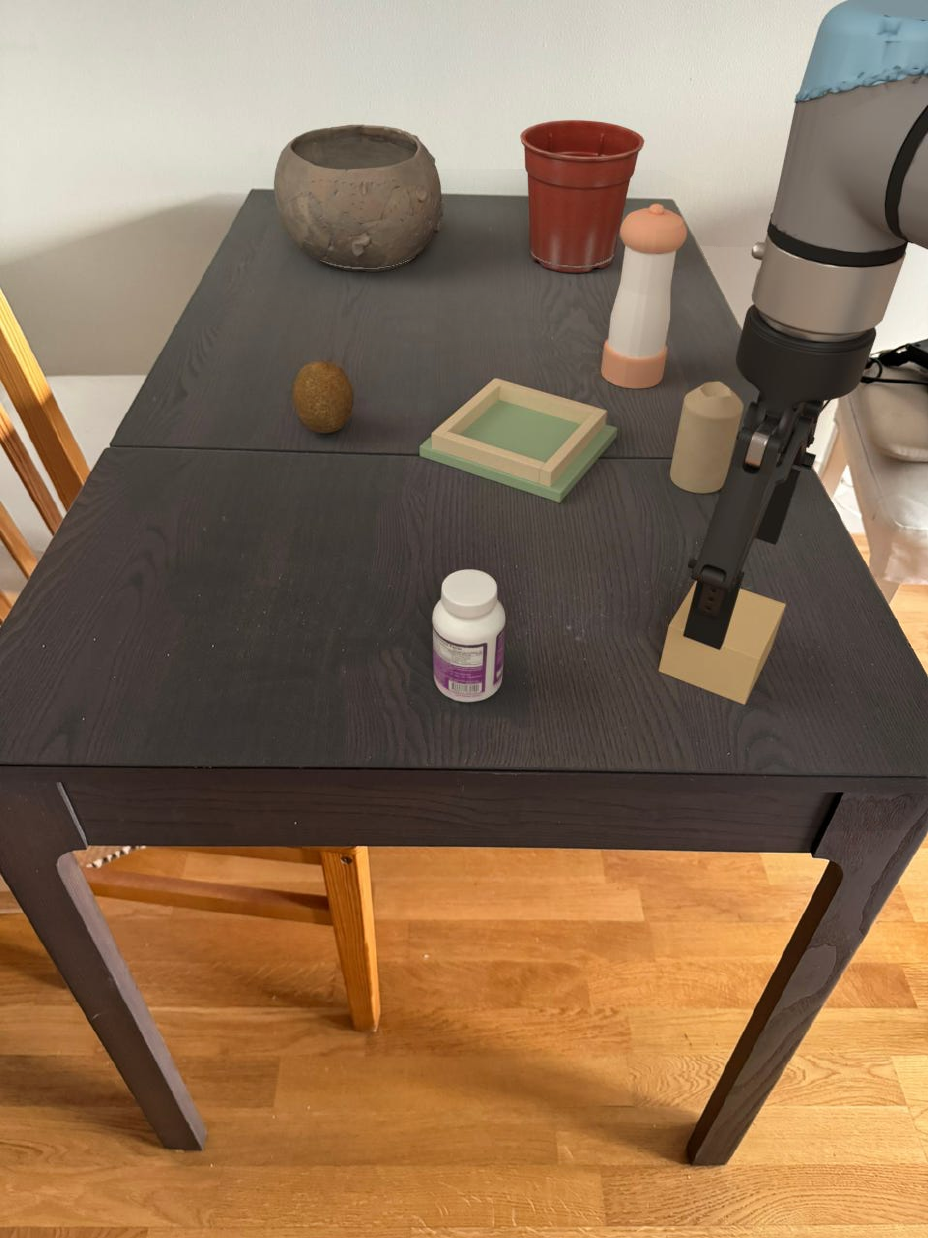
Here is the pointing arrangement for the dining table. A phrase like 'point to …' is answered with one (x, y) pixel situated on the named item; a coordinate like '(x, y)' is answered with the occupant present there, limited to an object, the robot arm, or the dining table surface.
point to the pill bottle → (468, 637)
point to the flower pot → (577, 190)
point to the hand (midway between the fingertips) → (733, 585)
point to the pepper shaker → (643, 298)
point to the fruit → (323, 397)
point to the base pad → (522, 439)
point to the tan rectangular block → (724, 647)
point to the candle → (706, 438)
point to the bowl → (359, 195)
